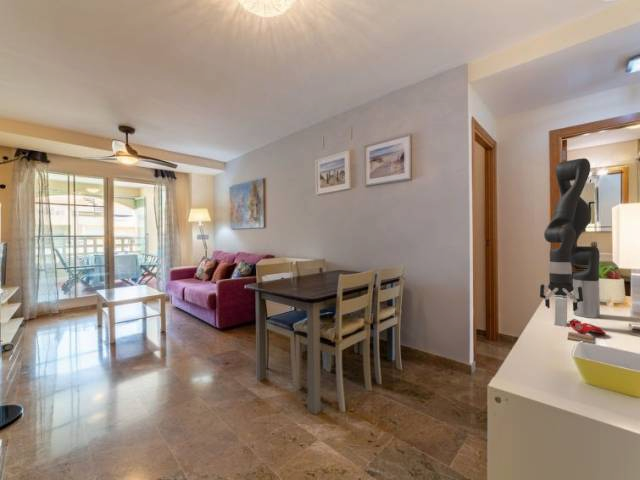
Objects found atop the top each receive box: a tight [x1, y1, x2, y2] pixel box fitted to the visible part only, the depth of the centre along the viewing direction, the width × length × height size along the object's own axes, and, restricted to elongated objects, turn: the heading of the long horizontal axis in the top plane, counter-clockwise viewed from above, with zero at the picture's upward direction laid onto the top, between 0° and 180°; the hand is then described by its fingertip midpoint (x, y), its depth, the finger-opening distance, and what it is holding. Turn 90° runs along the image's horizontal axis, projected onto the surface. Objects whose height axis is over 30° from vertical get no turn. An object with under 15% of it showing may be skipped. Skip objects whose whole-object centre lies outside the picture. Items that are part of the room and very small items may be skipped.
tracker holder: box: [567, 318, 606, 335], centre depth 112 cm, size 12×4×10 cm
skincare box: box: [553, 294, 568, 327], centre depth 123 cm, size 6×4×12 cm
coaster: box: [567, 331, 594, 344], centre depth 106 cm, size 9×7×1 cm
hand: (561, 309), depth 123 cm, fingers open, 8 cm apart
